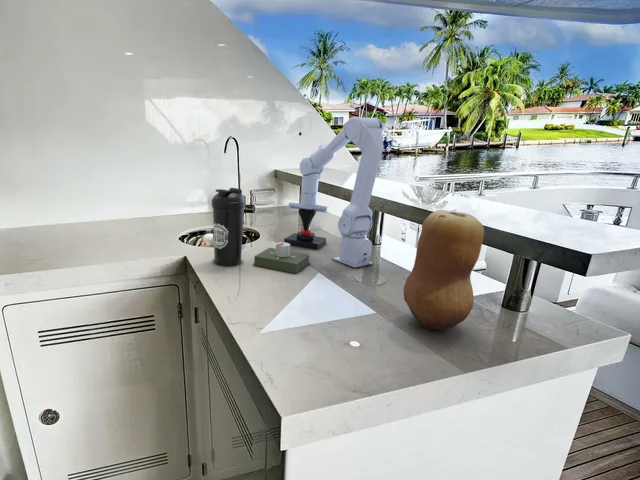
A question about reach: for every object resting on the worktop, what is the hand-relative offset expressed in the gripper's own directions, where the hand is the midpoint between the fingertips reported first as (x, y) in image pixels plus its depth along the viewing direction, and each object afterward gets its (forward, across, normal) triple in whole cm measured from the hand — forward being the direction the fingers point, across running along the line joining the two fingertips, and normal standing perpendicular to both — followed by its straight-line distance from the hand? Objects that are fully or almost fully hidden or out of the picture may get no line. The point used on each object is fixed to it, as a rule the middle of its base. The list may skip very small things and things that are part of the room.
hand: (306, 229), depth 141 cm
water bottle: (+6, -14, -34) cm, 37 cm away
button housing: (+6, 0, 0) cm, 6 cm away
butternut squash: (+6, +46, -46) cm, 66 cm away
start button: (+2, 0, 0) cm, 2 cm away
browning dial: (+2, +2, -27) cm, 27 cm away
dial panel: (+6, +2, -27) cm, 27 cm away
